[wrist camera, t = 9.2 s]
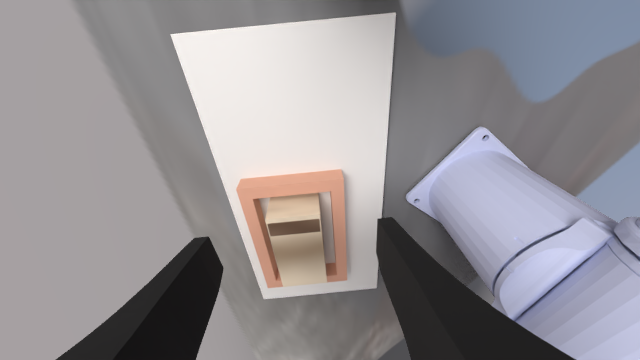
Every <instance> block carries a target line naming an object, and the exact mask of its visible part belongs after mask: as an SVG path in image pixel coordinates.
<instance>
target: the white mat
mask: <svg viewBox="0 0 640 360" xmlns="http://www.w3.org/2000/svg"><path fill="white" fill-rule="evenodd" d="M395 20H396V12H395V13H385V14H375V15H365V16H354V17H344V18H334V19H323V20H313V21H303V22H292V23H282V24H272V25H261V26H251V27H241V28H230V29H220V30H210V31H199V32H189V33H179V34H171V37H172V40H173V43H174V46H175V49H176V51H177V54H178V57H179V60H180V63H181V66H182V68H183V71H184V74H185V77H186V80H187V83H188V85H189V88H190V91H191V94H192V97H193V100H194V102H195V105H196V108H197V111H198V114H199V117H200V119H201V122H202V125H203V128H204V131H205V134H206V136H207V139H208V142H209V145H210V148H211V151H212V153H213V156H214V159H215V162H216V165H217V168H218V170H219V173H220V176H221V179H222V182H223V185H224V187H225V190H226V193H227V196H228V199H229V202H230V204H231V207H232V210H233V213H234V216H235V219H236V222H237V224H238V227H239V230H240V233H241V236H242V239H243V241H244V244H245V247H246V250H247V253H248V256H249V258H250V261H251V264H252V267H253V270H254V273H255V275H256V278H257V281H258V284H259V287H260V290H261V292H262V295H263V298H264V299H271V298H281V297H291V296H302V295H312V294H322V293H332V292H342V291H352V290H362V289H373V288H377V276H378V258H377V254H376V240H377V219H379V218H382V205H383V190H384V176H385V162H386V148H387V134H388V119H389V105H390V91H391V77H392V63H393V48H394V34H395ZM337 169H341V171H342V174H343V178H344V201H345V229H346V258H347V281H337V282H327V283H319V284H308V285H298V286H288V287H276V288H268V287H267V284H266V281H265V277H264V274H263V271H262V268H261V265H260V262H259V259H258V256H257V253H256V250H255V247H254V244H253V240H252V237H251V234H250V231H249V228H248V225H247V222H246V219H245V216H244V213H243V210H242V206H241V203H240V200H239V197H238V194H237V191H236V188H237V186H238V184H239V182H240V179H245V178H255V177H266V176H276V175H286V174H296V173H307V172H317V171H327V170H337ZM318 196H319V205H320V215H321V224H322V234H323V243H324V253H325V264H326V263H335V252H334V238H333V224H332V210H331V197H330V192H319V193H318ZM269 200H270V197H268V198H259V201H260V205H261V208H262V212H263V216H264V219H265V218H266V213H267V209H268V204H269ZM265 223H266V221H265ZM266 227H267V225H266ZM267 231H268V229H267ZM268 234H269V232H268ZM269 238H270V236H269ZM270 242H271V240H270ZM271 245H272V244H271ZM272 249H273V247H272ZM273 253H274V251H273ZM274 257H275V255H274ZM275 260H276V258H275ZM276 264H277V262H276ZM277 268H278V266H277Z"/></svg>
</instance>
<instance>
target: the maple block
mask: <svg viewBox="0 0 640 360" xmlns="http://www.w3.org/2000/svg"><path fill="white" fill-rule="evenodd" d="M265 221H266V225H267V229H268V232H269V236H270V240H271V244H272V247H273V251H274V255H275V258H276V262H277V266H278V270H279V273H280V277H281V281H282V285H283V287H288V286H298V285H308V284H319V283H327V275H326V264H325V253H324V243H323V234H322V224H321V215H320V205H319V196H318V193H309V194H299V195H289V196H279V197H270V200H269V204H268V209H267V213H266V218H265Z"/></svg>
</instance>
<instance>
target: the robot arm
mask: <svg viewBox="0 0 640 360" xmlns="http://www.w3.org/2000/svg"><path fill="white" fill-rule="evenodd" d="M485 135H486V137H485V138H484V139H482V138H483V136H485ZM415 199H417V200H416V201H414V200H415ZM406 200H407V201H408V202H409V203H411V204H412V205H414V206H415V207H417V208H418V209H420V210H422V211H423V212H425V213H426V214H428V215H429V216H431V217H433V218H434V219H436V220H437V221H439V222H440V223H442V225H443V226H444V228H445V229H446V230H447V232H448V233H449V235H450V236H451V237H452V239H453V240H454V241H455V243H456V244H457V246H458V247H459V248H460V250H461V251H462V253H463V254H464V255H465V257H466V258H467V260H468V261H469V262H470V264H471V265H472V266H473V268H474V269H475V271H476V272H477V273H478V275H479V276H480V278H481V279H482V280H483V282H484V283H485V284H486V286H487V287H488V289H489V290H490V291H491V293H492V294H493V296H494V297H495V299H494V301H493V303H492V304H491V305H490V304H489V303H487V302H486V301H484V300H483V299H482V298H480V297H479V296H478V295H476V294H475V293H474V292H473V291H471V290H470V289H469V288H467V287H466V286H465V285H464V284H462V283H461V282H460V281H459V280H457V279H456V278H455V277H454V276H453V275H451V274H450V273H449V272H448V271H447V270H446V269H444V268H443V267H442V266H441V265H440V264H439V263H438V262H437V261H435V260H434V259H433V258H432V257H431V256H430V255H429V254H428V253H427V252H426V251H425V250H424V249H423V248H422V247H421V246H420V245H419V244H418V243H417V242H415V241H414V239H413V238H412V237H411V236H410V235H409V234H408V233H407V232H406V231H405V230H404V229H403V228H402V227H401V226H400V225H399V224H398V223H397V222H396V221H395V219H393V218H392V217H389V218H379V219H377V240H376V254H377V258H378V263H379V266H380V270H381V274H382V277H383V280H384V282H385V285H386V288H387V291H388V293H389V296H390V299H391V301H392V304H393V306H394V309H395V312H396V314H397V317H398V320H399V322H400V325H401V328H402V331H403V334H404V337H405V339H406V343H407V346H408V350H409V353H410V357H411V360H640V217H627V218H625V219H623V220H622V221H621V222H620V223H617V222H616V221H614V220H612V219H611V218H609V217H607V216H606V215H604V214H602V213H601V212H599V211H597V210H596V209H594V208H592V207H591V206H589V205H587V204H586V203H584V202H582V201H581V200H579V199H578V198H576V197H574V196H573V195H571V194H569V193H568V192H566V191H564V190H563V189H561V188H559V187H558V186H556V185H554V184H553V183H551V182H549V181H548V180H546V179H544V178H543V177H541V176H539V175H538V174H536V173H534V172H533V171H531V170H530V169H529V168H528V167H527V166H526V165H525V164H524V163H523V162H522V161H520V160H519V159H518V158H517V157H516V156H515V155H514V154H513V153H512V152H511V151H510V150H509V149H508V148H507V147H506V146H505V145H503V144H502V143H501V142H500V141H499V140H498V139H497V138H496V137H495V136H494V135H493V134H492V133H491V132H490V131H489V130H488V129H486V128H484V127H478V128H476V129H475V130H474V131H473V132H472V133H471V134H470V135H469V136H467V137H466V138H465V139H464V140H463V141H462V142H461V143H460V144H459V145H458V146H457V147H456V148H455V149H454V150H453V151H452V152H451V153H450V154H449V155H447V156H446V157H445V158H444V159H443V160H442V161H441V162H440V163H439V164H438V165H437V166H436V167H435V168H434V169H433V170H432V171H431V172H430V173H429V174H428V175H426V176H425V177H424V178H423V179H422V180H421V181H420V182H419V183H418V184H417V185H416V186H415V187H414V188H413V189H412V190H411V191H410V192H409V193H408V194H407V195H406ZM222 273H223V266H222V264H221V262H220V260H219V257H218V255H217V253H216V251H215V249H214V247H213V245H212V242H211V240H210V238H209V237H200V238H194V239H193V240H192V241H191V242H190V243H189V244H188V245H187V246H186V247H184V248H183V249H182V250H181V251H180V253H178V254H177V255H176V256H175V257H174V258H173V259H172V260H171V261H170V262H169V263H168V265H166V267H164V268H163V269H162V270H161V271H160V272H159V273H158V274H157V275H156V276H155V277H154V278H153V279H152V280H151V281H150V282H149V283H148V284H147V285H146V286H144V287H143V288H142V289H141V290H140V291H139V292H138V293H137V294H136V295H135V296H133V297H132V298H131V299H130V300H129V301H128V302H127V303H126V304H125V305H124V306H123V307H121V308H120V309H119V310H118V311H117V312H116V313H114V314H113V315H112V316H111V317H110V318H109V319H108V320H106V321H105V322H104V323H102V324H101V325H100V326H99V327H98V328H96V329H95V330H94V331H93V332H91V333H90V334H89V335H88V336H86V337H85V338H84V339H83V340H81V341H80V342H79V343H78V344H76V345H75V346H74V347H72V348H71V349H70V350H68V351H67V352H65V353H64V354H63V355H61V356H60V357H59V358H58V359H56V360H196V357H197V354H198V351H199V347H200V345H201V342H202V339H203V336H204V333H205V330H206V327H207V325H208V322H209V319H210V316H211V313H212V310H213V307H214V304H215V301H216V298H217V295H218V292H219V288H220V283H221V278H222Z"/></svg>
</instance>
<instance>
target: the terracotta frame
mask: <svg viewBox="0 0 640 360" xmlns="http://www.w3.org/2000/svg"><path fill="white" fill-rule="evenodd" d="M236 191H237V194H238V197H239V200H240V203H241V206H242V210H243V213H244V216H245V219H246V222H247V225H248V228H249V231H250V234H251V237H252V240H253V244H254V247H255V250H256V253H257V256H258V259H259V262H260V265H261V268H262V271H263V274H264V277H265V281H266V284H267V287H268V288H276V287H283V285H282V281H281V277H280V273H279V270H278V268H277V264H276V260H275V257H274V253H273V249H272V245H271V242H270V238H269V234H268V231H267V227H266V223H265V219H264V216H263V212H262V208H261V205H260V201H259V198H268V197H279V196H289V195H299V194H309V193H319V192H330V197H331V210H332V224H333V238H334V252H335V263H326V275H327V282H337V281H347V258H346V229H345V201H344V178H343V174H342V171H341V169H337V170H327V171H317V172H307V173H296V174H286V175H276V176H266V177H255V178H245V179H240V182H239V184H238V186H237V188H236Z"/></svg>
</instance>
